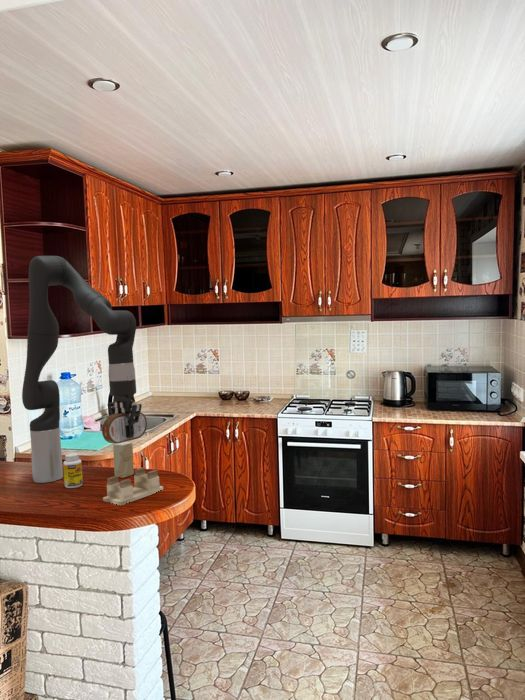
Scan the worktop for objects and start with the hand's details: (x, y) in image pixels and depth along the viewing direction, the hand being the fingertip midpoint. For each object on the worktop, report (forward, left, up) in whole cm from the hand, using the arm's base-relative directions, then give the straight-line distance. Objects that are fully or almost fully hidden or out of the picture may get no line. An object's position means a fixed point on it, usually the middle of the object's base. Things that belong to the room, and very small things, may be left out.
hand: (126, 436), depth 156 cm
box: (-20, +13, -18) cm, 30 cm away
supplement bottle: (-25, -3, -18) cm, 31 cm away
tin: (0, 0, -1) cm, 1 cm away
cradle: (0, +1, -18) cm, 18 cm away
